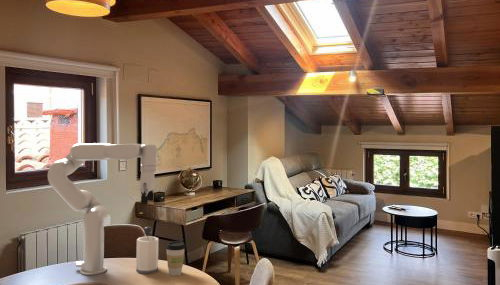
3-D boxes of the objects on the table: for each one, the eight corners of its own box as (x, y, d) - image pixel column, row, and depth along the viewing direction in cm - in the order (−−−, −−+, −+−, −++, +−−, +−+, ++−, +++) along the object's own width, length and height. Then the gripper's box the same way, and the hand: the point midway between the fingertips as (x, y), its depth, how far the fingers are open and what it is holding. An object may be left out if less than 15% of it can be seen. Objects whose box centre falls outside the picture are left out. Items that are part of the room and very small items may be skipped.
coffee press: (133, 273, 207) (134, 241, 206) (141, 265, 219) (141, 235, 219) (154, 274, 206) (155, 242, 206) (161, 265, 219) (161, 235, 219)
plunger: (138, 265, 208) (138, 228, 208) (142, 260, 216) (142, 225, 215) (152, 266, 208) (153, 229, 208) (156, 261, 215) (156, 226, 215)
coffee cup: (180, 277, 203) (181, 247, 202) (161, 275, 205) (162, 245, 204) (187, 271, 212) (188, 241, 212) (169, 269, 214) (170, 240, 214)
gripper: (146, 166, 220) (145, 199, 221) (135, 169, 203) (134, 204, 203) (160, 167, 220) (159, 199, 220) (150, 170, 202) (149, 205, 203)
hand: (147, 202), depth 212 cm, fingers open, 9 cm apart
